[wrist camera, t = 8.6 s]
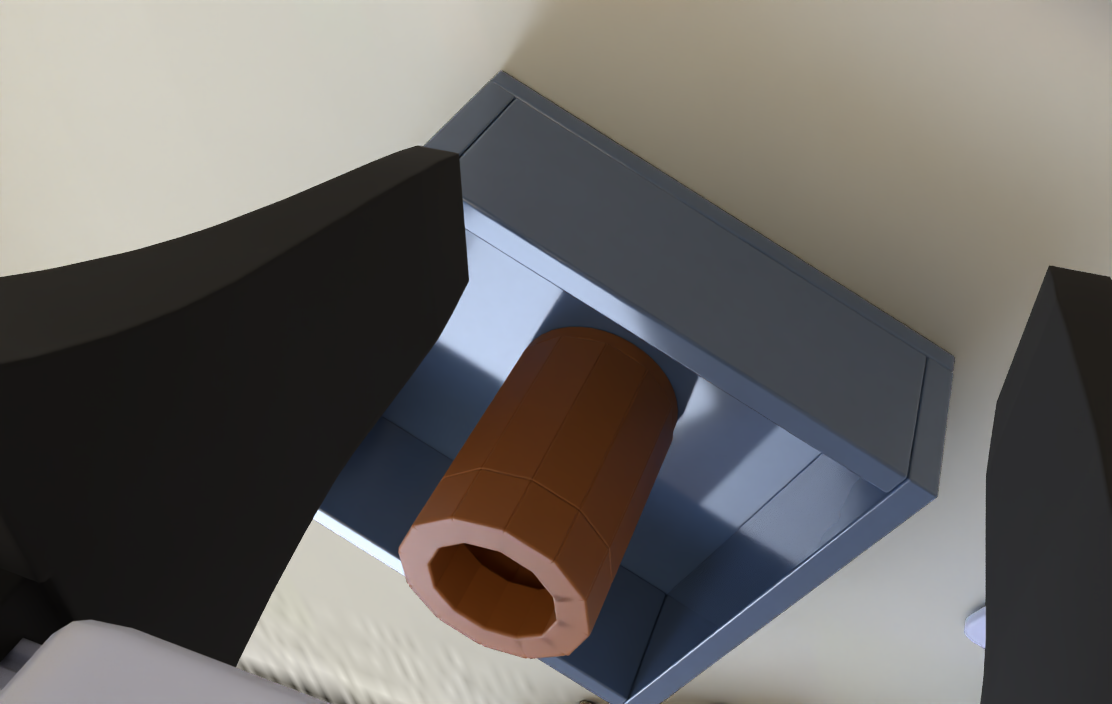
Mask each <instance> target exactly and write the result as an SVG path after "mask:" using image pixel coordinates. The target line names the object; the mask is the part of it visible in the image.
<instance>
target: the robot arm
mask: <svg viewBox="0 0 1112 704" xmlns="http://www.w3.org/2000/svg"><path fill="white" fill-rule="evenodd" d="M468 282H469V270H468V258H467V246H466V234H465V221H464V209H463V197H462V185H461V172H460V160H459V153H454V152H449V151H444V150H438V149H433V148H428V147H423V146H415V147H411V148H408V149H405V150H402V151H399V152H396V153H393V154H391V155H388V156H386V157H383V158H381V159H378V160H376V161H373V162H371V163H368V164H366V165H364V166H361V167H359V168H356V169H354V170H352V171H350V172H347V173H345V174H343V175H340V176H338V177H336V178H333V179H331V180H329V181H326V182H324V183H321V184H319V185H317V186H314V187H312V188H310V189H307V190H305V191H303V192H300V193H298V194H296V195H293V196H291V197H289V198H286V199H284V200H281V201H279V202H276V203H273V204H271V205H268V206H266V207H263V208H260V209H258V210H255V211H253V212H250V213H247V214H245V215H242V216H240V217H237V218H234V219H232V220H229V221H227V222H224V223H221V224H219V225H216V226H213V227H210V228H207V229H204V230H201V231H198V232H195V233H192V234H189V235H186V236H183V237H179V238H176V239H172V240H169V241H166V242H162V243H159V244H155V245H152V246H148V247H145V248H141V249H137V250H134V251H130V252H126V253H121V254H117V255H112V256H108V257H103V258H99V259H94V260H89V261H85V262H80V263H76V264H71V265H67V266H62V267H58V268H53V269H47V270H42V271H36V272H30V273H23V274H17V275H11V276H5V277H0V704H331V703H328V702H325V701H323V700H320V699H317V698H315V697H312V696H310V695H307V694H304V693H302V692H299V691H296V690H294V689H291V688H289V687H286V686H283V685H281V684H278V683H275V682H273V681H270V680H267V679H265V678H262V677H260V676H257V675H254V674H252V673H249V672H246V671H244V670H241V669H239V668H236V666H237V663H238V661H239V659H240V657H241V655H242V653H243V651H244V649H245V647H246V645H247V643H248V641H249V639H250V637H251V635H252V633H253V631H254V629H255V627H256V625H257V623H258V621H259V619H260V617H261V615H262V613H263V611H264V609H265V607H266V605H267V603H268V601H269V599H270V596H271V594H272V592H273V591H274V589H275V587H276V585H277V583H278V581H279V579H280V578H281V576H282V574H283V572H284V570H285V568H286V567H287V565H288V563H289V561H290V559H291V557H292V555H293V554H294V552H295V550H296V548H297V546H298V544H299V542H300V541H301V539H302V537H303V535H304V533H305V532H306V530H307V528H308V526H309V525H310V523H311V521H312V519H313V518H314V516H315V514H316V513H317V511H318V509H319V507H320V506H321V504H322V502H323V501H324V499H325V497H326V495H327V494H328V492H329V490H330V489H331V487H332V485H333V483H334V482H335V480H336V478H337V477H338V475H339V474H340V472H341V471H342V469H343V468H344V467H345V465H346V464H347V462H348V461H349V459H350V458H351V456H352V455H353V453H354V452H355V451H356V449H357V448H358V447H359V445H360V444H361V443H362V441H363V440H364V439H365V437H366V436H367V435H368V433H369V432H370V431H371V429H372V428H373V427H374V425H375V424H376V423H377V421H378V420H379V419H380V417H381V416H382V415H383V413H384V412H385V411H386V409H387V408H388V407H389V405H390V404H391V403H392V401H393V400H394V399H395V397H396V396H397V395H398V393H399V392H400V391H401V389H402V388H403V387H404V385H405V384H406V383H407V381H408V380H409V379H410V377H411V376H412V375H413V373H414V372H415V371H416V369H417V368H418V366H419V365H420V364H421V362H422V361H423V360H424V358H425V357H426V356H427V354H428V353H429V351H430V350H431V349H432V347H433V346H434V344H435V343H436V342H437V340H438V339H439V337H440V335H441V334H442V332H443V330H444V328H445V326H446V325H447V323H448V321H449V319H450V317H451V316H452V314H453V312H454V310H455V308H456V306H457V304H458V302H459V300H460V298H461V296H462V294H463V292H464V290H465V288H466V286H467V284H468ZM964 632H965V634H966V636H967V637H968V638H969V639H970V640H971V641H972V642H974V643H976V644H977V645H979V646H980V647H982V648H984V649H985V661H984V678H983V686H982V695H981V703H980V704H1112V280H1111V278H1110V277H1107V276H1102V275H1097V274H1092V273H1086V272H1081V271H1076V270H1070V269H1065V268H1060V267H1055V266H1049V267H1048V270H1047V272H1046V275H1045V277H1044V280H1043V283H1042V285H1041V288H1040V291H1039V293H1038V296H1037V298H1036V301H1035V304H1034V306H1033V309H1032V311H1031V314H1030V317H1029V319H1028V322H1027V324H1026V327H1025V330H1024V332H1023V335H1022V337H1021V340H1020V343H1019V345H1018V348H1017V351H1016V353H1015V356H1014V358H1013V361H1012V364H1011V366H1010V369H1009V371H1008V374H1007V377H1006V379H1005V382H1004V384H1003V387H1002V390H1001V392H1000V395H999V398H998V400H997V404H996V411H995V417H994V424H993V430H992V437H991V443H990V451H989V458H988V465H987V473H986V606H984V607H983V608H981V609H979V610H978V611H976V612H974V613H973V614H971V615H969V616H968V617H967V618H966V621H965V630H964Z"/></svg>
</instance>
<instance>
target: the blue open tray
mask: <svg viewBox="0 0 1112 704" xmlns="http://www.w3.org/2000/svg"><path fill="white" fill-rule="evenodd" d="M423 147H428V148H433V149H438V150H444V151H449V152H454V153H459V160H460V172H461V185H462V197H463V209H464V221H465V234H466V246H467V258H468V270H469V282H468V284H467V286H466V288H465V290H464V292H463V294H462V296H461V298H460V300H459V302H458V304H457V306H456V308H455V310H454V312H453V314H452V316H451V317H450V319H449V321H448V323H447V325H446V326H445V328H444V330H443V332H442V334H441V335H440V337H439V339H438V340H437V342H436V343H435V344H434V346H433V347H432V349H431V350H430V351H429V353H428V354H427V356H426V357H425V358H424V360H423V361H422V362H421V364H420V365H419V366H418V368H417V369H416V371H415V372H414V373H413V375H412V376H411V377H410V379H409V380H408V381H407V383H406V384H405V385H404V387H403V388H402V389H401V391H400V392H399V393H398V395H397V396H396V397H395V399H394V400H393V401H392V403H391V404H390V405H389V407H388V408H387V409H386V411H385V412H384V413H383V415H382V416H381V417H380V419H379V420H378V421H377V423H376V424H375V425H374V427H373V428H372V429H371V431H370V432H369V433H368V435H367V436H366V437H365V439H364V440H363V441H362V443H361V444H360V445H359V447H358V448H357V449H356V451H355V452H354V453H353V455H352V456H351V458H350V459H349V461H348V462H347V464H346V465H345V467H344V468H343V469H342V471H341V472H340V474H339V475H338V477H337V478H336V480H335V482H334V483H333V485H332V487H331V489H330V490H329V492H328V494H327V495H326V497H325V499H324V501H323V502H322V504H321V506H320V507H319V509H318V511H317V513H316V514H315V516H314V518H313V519H314V520H315V521H317V522H318V523H320V524H322V525H323V526H325V527H326V528H328V529H330V530H331V531H333V532H334V533H336V534H338V535H339V536H341V537H343V538H344V539H346V540H347V541H349V542H351V543H352V544H354V545H355V546H357V547H359V548H360V549H362V550H363V551H365V552H367V553H368V554H370V555H371V556H373V557H375V558H376V559H378V560H380V561H381V562H383V563H384V564H386V565H388V566H389V567H391V568H392V569H394V570H396V571H397V572H399V573H400V574H402V575H404V576H405V574H404V570H403V567H402V563H401V560H400V556H399V553H398V551H399V546H400V544H401V543H402V541H403V539H404V538H405V536H406V534H407V533H408V531H409V529H410V528H411V526H412V524H413V523H414V521H415V520H416V518H417V517H418V515H419V514H420V512H421V510H422V509H423V507H424V506H425V504H426V503H427V501H428V500H429V498H430V496H431V495H432V493H433V492H434V490H435V489H436V487H437V486H438V484H439V482H440V481H441V479H442V478H443V476H444V475H445V473H446V472H447V470H448V468H449V467H450V465H451V464H452V462H453V461H454V459H455V458H456V456H457V454H458V453H459V451H460V450H461V448H462V447H463V445H464V444H465V442H466V440H467V439H468V437H469V436H470V434H471V433H472V431H473V430H474V428H475V427H476V425H477V423H478V422H479V420H480V419H481V417H482V416H483V414H484V413H485V411H486V409H487V408H488V406H489V405H490V403H491V402H492V400H493V399H494V397H495V395H496V394H497V392H498V391H499V389H500V388H501V386H502V385H503V383H504V381H505V380H506V378H507V377H508V375H509V374H510V372H511V371H512V369H513V367H514V366H515V364H516V363H517V361H518V360H519V358H520V357H521V355H522V354H523V352H524V350H525V349H526V348H527V347H528V346H529V344H530V343H531V342H533V341H534V340H535V339H536V338H538V337H539V336H541V335H542V334H544V333H547V332H549V331H551V330H555V329H559V328H564V327H588V328H594V329H599V330H603V331H606V332H609V333H612V334H614V335H617V336H619V337H621V338H623V339H625V340H627V341H629V342H631V343H632V344H634V345H635V346H637V347H638V348H640V349H641V350H643V351H644V352H645V353H646V354H647V355H649V356H650V357H651V358H652V359H653V360H654V361H655V362H656V363H657V364H658V365H659V367H660V368H661V369H662V371H663V372H664V373H665V375H666V376H667V378H668V380H669V381H670V383H671V385H672V388H673V390H674V392H675V396H676V400H677V408H678V415H677V422H676V426H675V428H674V431H673V440H672V442H671V445H670V447H669V449H668V452H667V454H666V456H665V459H664V461H663V464H662V466H661V468H660V471H659V473H658V475H657V478H656V480H655V483H654V485H653V487H652V490H651V492H650V494H649V497H648V499H647V501H646V504H645V506H644V509H643V511H642V513H641V516H640V518H639V520H638V523H637V525H636V528H635V530H634V532H633V535H632V537H631V539H630V542H629V544H628V547H627V549H626V551H625V554H624V556H623V558H622V561H621V563H620V565H619V568H618V570H617V573H616V575H615V577H614V580H613V582H612V583H611V587H610V589H609V591H608V594H607V596H606V599H605V601H604V603H603V606H602V608H601V610H600V613H599V615H598V618H597V620H596V622H595V625H594V627H593V629H592V632H591V634H590V636H589V637H588V638H587V639H586V640H584V641H583V642H582V643H581V644H580V645H579V646H578V647H577V648H576V649H575V650H574V651H573V652H572V653H571V654H570V655H569V656H567V655H565V656H557V657H545V658H537V659H539V660H541V661H542V662H544V663H545V664H547V665H549V666H550V667H552V668H553V669H555V670H557V671H558V672H560V673H561V674H563V675H565V676H566V677H568V678H570V679H571V680H573V681H574V682H576V683H578V684H579V685H581V686H582V687H584V688H586V689H587V690H589V691H590V692H592V693H594V694H595V695H597V696H599V697H600V698H602V699H603V700H605V701H607V702H608V703H610V704H660V703H662V702H663V701H664V700H666V699H667V698H668V697H670V696H671V695H672V694H674V693H675V692H676V691H678V690H679V689H681V688H682V687H683V686H685V685H686V684H687V683H689V682H690V681H691V680H693V679H694V678H695V677H697V676H698V675H699V674H701V673H702V672H703V671H705V670H706V669H707V668H709V667H710V666H711V665H713V664H714V663H715V662H717V661H718V660H719V659H721V658H722V657H723V656H725V655H726V654H727V653H729V652H730V651H731V650H733V649H734V648H736V647H737V646H738V645H740V644H741V643H742V642H744V641H745V640H746V639H748V638H749V637H750V636H752V635H753V634H754V633H756V632H757V631H758V630H760V629H761V628H762V627H764V626H765V625H766V624H768V623H769V622H770V621H772V620H773V619H774V618H776V617H777V616H778V615H780V614H781V613H782V612H784V611H785V610H786V609H788V608H789V607H791V606H792V605H793V604H795V603H796V602H797V601H799V600H800V599H801V598H803V597H804V596H805V595H807V594H808V593H809V592H811V591H812V590H813V589H815V588H816V587H817V586H819V585H820V584H821V583H823V582H824V581H825V580H827V579H828V578H829V577H831V576H832V575H833V574H835V573H836V572H837V571H839V570H840V569H842V568H843V567H844V566H846V565H847V564H848V563H850V562H851V561H852V560H854V559H855V558H856V557H858V556H859V555H860V554H862V553H863V552H864V551H866V550H867V549H868V548H870V547H871V546H872V545H874V544H875V543H876V542H878V541H879V540H880V539H882V538H883V537H884V536H886V535H887V534H888V533H890V532H891V531H892V530H894V529H895V528H897V527H898V526H899V525H901V524H902V523H903V522H905V521H906V520H907V519H909V518H910V517H911V516H913V515H914V514H915V513H917V512H918V511H919V510H921V509H922V508H923V507H925V506H926V505H927V504H929V503H930V502H931V501H933V500H934V499H935V498H937V496H938V491H939V483H940V475H941V467H942V459H943V451H944V444H945V436H946V428H947V420H948V412H949V404H950V397H951V389H952V381H953V370H954V363H955V357H954V356H953V355H951V354H950V353H948V352H947V351H945V350H944V349H942V348H940V347H939V346H937V345H936V344H934V343H933V342H931V341H929V340H928V339H926V338H925V337H923V336H921V335H920V334H918V333H917V332H915V331H914V330H912V329H910V328H909V327H907V326H906V325H904V324H902V323H901V322H899V321H898V320H896V319H895V318H893V317H891V316H890V315H888V314H887V313H885V312H883V311H882V310H880V309H879V308H877V307H876V306H874V305H872V304H871V303H869V302H868V301H866V300H864V299H863V298H861V297H860V296H858V295H857V294H855V293H853V292H852V291H850V290H849V289H847V288H845V287H844V286H842V285H841V284H839V283H838V282H836V281H834V280H833V279H831V278H830V277H828V276H826V275H825V274H823V273H822V272H820V271H819V270H817V269H815V268H814V267H812V266H811V265H809V264H807V263H806V262H804V261H803V260H801V259H800V258H798V257H796V256H795V255H793V254H792V253H790V252H788V251H787V250H785V249H784V248H782V247H781V246H779V245H777V244H776V243H774V242H773V241H771V240H770V239H768V238H766V237H765V236H763V235H762V234H760V233H758V232H757V231H755V230H754V229H752V228H751V227H749V226H747V225H746V224H744V223H743V222H741V221H739V220H738V219H736V218H735V217H733V216H732V215H730V214H728V213H727V212H725V211H724V210H722V209H720V208H719V207H717V206H716V205H714V204H713V203H711V202H709V201H708V200H706V199H705V198H703V197H701V196H700V195H698V194H697V193H695V192H694V191H692V190H690V189H689V188H687V187H686V186H684V185H682V184H681V183H679V182H678V181H676V180H675V179H673V178H671V177H670V176H668V175H667V174H665V173H663V172H662V171H660V170H659V169H657V168H656V167H654V166H652V165H651V164H649V163H648V162H646V161H644V160H643V159H641V158H640V157H638V156H637V155H635V154H633V153H632V152H630V151H629V150H627V149H625V148H624V147H622V146H621V145H619V144H618V143H616V142H614V141H613V140H611V139H610V138H608V137H607V136H605V135H603V134H602V133H600V132H599V131H597V130H595V129H594V128H592V127H591V126H589V125H588V124H586V123H584V122H583V121H581V120H580V119H578V118H576V117H575V116H573V115H572V114H570V113H569V112H567V111H565V110H564V109H562V108H561V107H559V106H557V105H556V104H554V103H553V102H551V101H550V100H548V99H546V98H545V97H543V96H542V95H540V94H538V93H537V92H535V91H534V90H532V89H531V88H529V87H527V86H526V85H524V84H523V83H521V82H519V81H518V80H516V79H515V78H513V77H512V76H510V75H508V74H507V73H505V72H504V71H499V72H498V73H497V74H496V75H495V76H494V77H493V78H492V79H491V80H490V81H489V82H487V83H486V84H485V85H484V86H483V87H482V88H481V89H480V90H479V91H478V92H477V93H476V94H475V95H474V96H473V97H472V98H471V99H470V100H469V101H468V102H467V103H466V104H465V105H464V106H463V107H462V108H461V109H460V110H459V111H458V112H457V113H456V114H455V115H454V116H453V117H452V118H451V119H450V120H449V121H448V122H447V123H446V124H445V125H444V126H443V127H442V128H441V129H440V130H439V131H438V132H437V133H436V134H435V135H434V136H433V137H432V138H431V139H430V140H429V141H428V142H427V143H426V144H425V145H424V146H423Z"/></svg>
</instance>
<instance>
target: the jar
mask: <svg viewBox="0 0 1112 704" xmlns="http://www.w3.org/2000/svg"><path fill="white" fill-rule="evenodd" d="M677 415H678V408H677V400H676V396H675V392H674V390H673V388H672V385H671V383H670V381H669V380H668V378H667V376H666V375H665V373H664V372H663V371H662V369H661V368H660V367H659V365H658V364H657V363H656V362H655V361H654V360H653V359H652V358H651V357H650V356H649V355H647V354H646V353H645V352H644V351H643V350H641V349H640V348H638V347H637V346H635V345H634V344H632V343H631V342H629V341H627V340H625V339H623V338H621V337H619V336H617V335H614V334H612V333H609V332H606V331H603V330H599V329H594V328H588V327H564V328H559V329H555V330H551V331H549V332H547V333H544V334H542V335H541V336H539V337H538V338H536V339H535V340H534V341H533V342H531V343H530V344H529V346H528V347H527V348H526V349H525V350H524V352H523V354H522V355H521V357H520V358H519V360H518V361H517V363H516V364H515V366H514V367H513V369H512V371H511V372H510V374H509V375H508V377H507V378H506V380H505V381H504V383H503V385H502V386H501V388H500V389H499V391H498V392H497V394H496V395H495V397H494V399H493V400H492V402H491V403H490V405H489V406H488V408H487V409H486V411H485V413H484V414H483V416H482V417H481V419H480V420H479V422H478V423H477V425H476V427H475V428H474V430H473V431H472V433H471V434H470V436H469V437H468V439H467V440H466V442H465V444H464V445H463V447H462V448H461V450H460V451H459V453H458V454H457V456H456V458H455V459H454V461H453V462H452V464H451V465H450V467H449V468H448V470H447V472H446V473H445V475H444V476H443V478H442V479H441V481H440V482H439V484H438V486H437V487H436V489H435V490H434V492H433V493H432V495H431V496H430V498H429V500H428V501H427V503H426V504H425V506H424V507H423V509H422V510H421V512H420V514H419V515H418V517H417V518H416V520H415V521H414V523H413V524H412V526H411V528H410V529H409V531H408V533H407V534H406V536H405V538H404V539H403V541H402V543H401V544H400V546H399V551H398V553H399V556H400V560H401V563H402V567H403V570H404V574H405V577H406V581H407V583H408V584H409V587H410V588H411V589H412V590H413V591H414V592H415V593H416V595H417V596H418V597H419V598H420V599H421V600H422V601H423V602H424V604H425V605H426V606H427V607H428V608H429V609H430V610H431V611H432V613H433V614H434V615H435V616H436V617H438V618H439V619H440V620H441V621H443V622H444V623H446V624H447V625H449V626H451V627H452V628H454V629H455V630H457V631H459V632H460V633H462V634H464V635H465V636H467V637H468V638H470V639H472V640H473V641H475V642H476V643H478V644H482V645H483V646H485V647H488V648H491V649H495V650H498V651H502V652H505V653H509V654H512V655H515V656H519V657H522V658H530V659H533V658H545V657H557V656H565V655H567V656H569V655H570V654H571V653H572V652H573V651H574V650H575V649H576V648H577V647H578V646H579V645H580V644H581V643H582V642H583V641H584V640H586V639H587V638H588V637H589V636H590V634H591V632H592V629H593V627H594V625H595V622H596V620H597V618H598V615H599V613H600V610H601V608H602V606H603V603H604V601H605V599H606V596H607V594H608V591H609V589H610V587H611V583H612V582H613V580H614V577H615V575H616V573H617V570H618V568H619V565H620V563H621V561H622V558H623V556H624V554H625V551H626V549H627V547H628V544H629V542H630V539H631V537H632V535H633V532H634V530H635V528H636V525H637V523H638V520H639V518H640V516H641V513H642V511H643V509H644V506H645V504H646V501H647V499H648V497H649V494H650V492H651V490H652V487H653V485H654V483H655V480H656V478H657V475H658V473H659V471H660V468H661V466H662V464H663V461H664V459H665V456H666V454H667V452H668V449H669V447H670V445H671V442H672V440H673V431H674V428H675V426H676V422H677Z"/></svg>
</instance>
